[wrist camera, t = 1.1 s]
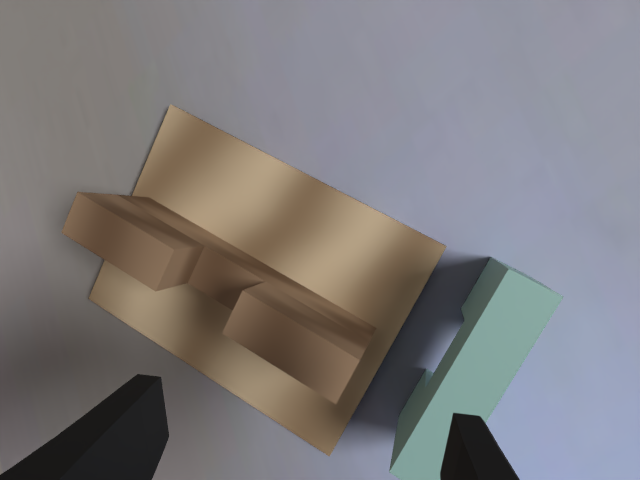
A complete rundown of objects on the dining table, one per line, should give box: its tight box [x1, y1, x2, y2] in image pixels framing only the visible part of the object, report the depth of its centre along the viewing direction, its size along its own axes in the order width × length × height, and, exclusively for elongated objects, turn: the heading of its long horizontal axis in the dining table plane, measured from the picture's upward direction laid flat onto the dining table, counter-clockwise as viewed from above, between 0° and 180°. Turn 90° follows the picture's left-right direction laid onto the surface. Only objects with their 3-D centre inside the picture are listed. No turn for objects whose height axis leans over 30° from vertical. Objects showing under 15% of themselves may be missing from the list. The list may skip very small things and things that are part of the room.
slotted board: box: [61, 104, 446, 456], centre depth 21 cm, size 16×12×6 cm
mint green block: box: [389, 257, 563, 480], centre depth 19 cm, size 2×9×5 cm, turn 153°
